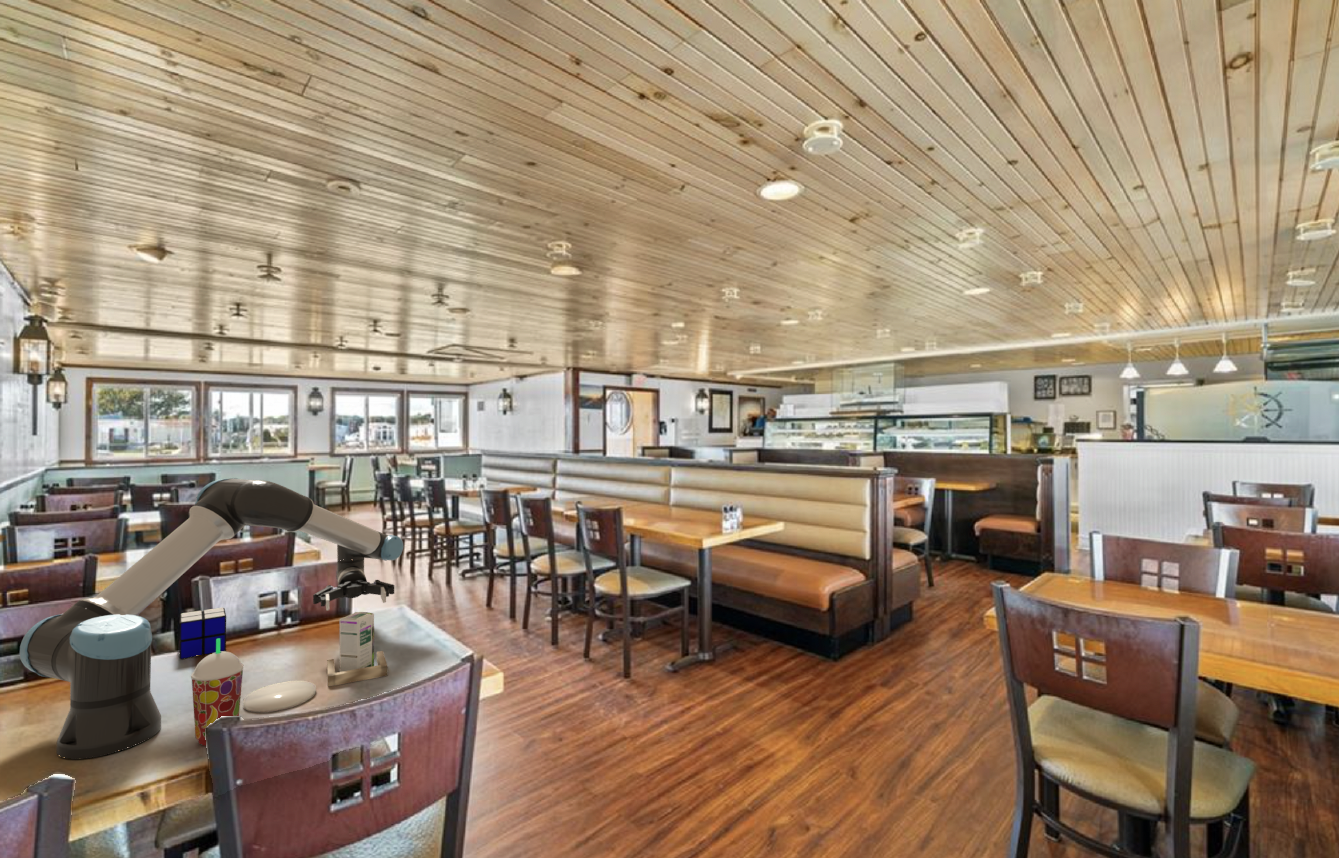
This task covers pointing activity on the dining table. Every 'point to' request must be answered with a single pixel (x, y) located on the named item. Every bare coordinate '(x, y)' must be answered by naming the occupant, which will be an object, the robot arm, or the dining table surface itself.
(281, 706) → the ceramic plate
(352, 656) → the syrup box
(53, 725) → the dining table surface
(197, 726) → the smoothie
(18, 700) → the dining table surface
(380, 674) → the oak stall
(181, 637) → the puzzle cube
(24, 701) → the dining table surface
